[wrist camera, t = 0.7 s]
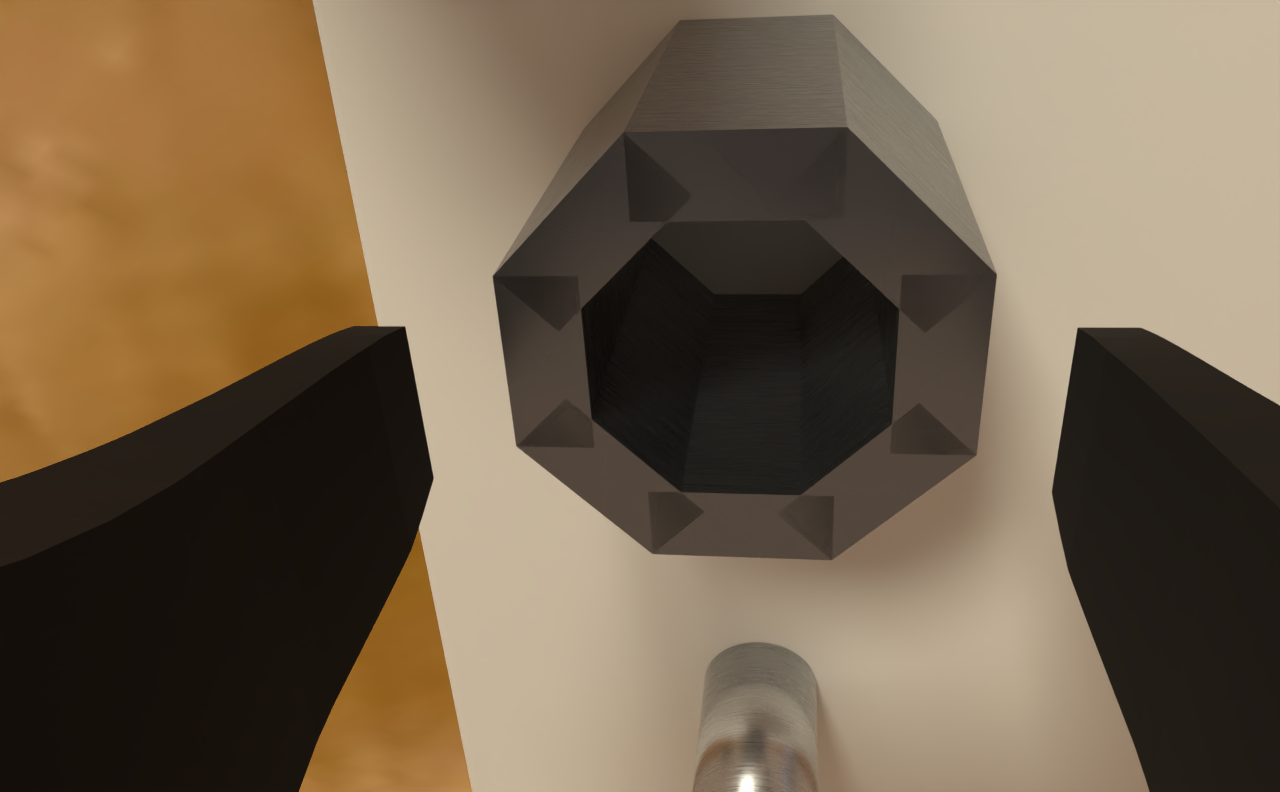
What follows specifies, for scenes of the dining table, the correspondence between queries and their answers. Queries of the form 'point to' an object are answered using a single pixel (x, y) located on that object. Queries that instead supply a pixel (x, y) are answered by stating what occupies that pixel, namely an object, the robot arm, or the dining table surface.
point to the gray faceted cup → (751, 300)
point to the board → (788, 264)
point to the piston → (757, 722)
